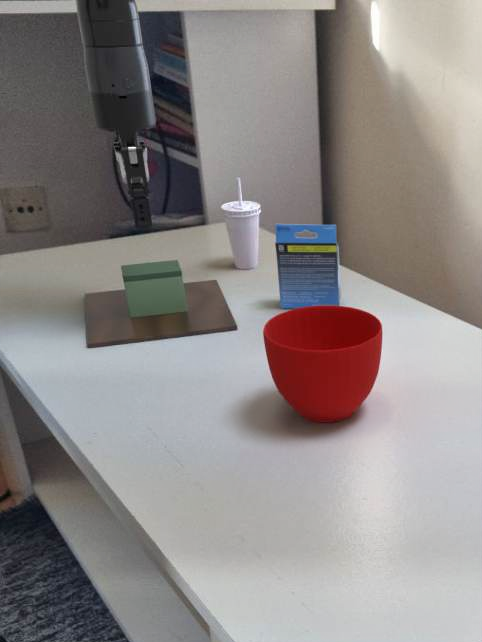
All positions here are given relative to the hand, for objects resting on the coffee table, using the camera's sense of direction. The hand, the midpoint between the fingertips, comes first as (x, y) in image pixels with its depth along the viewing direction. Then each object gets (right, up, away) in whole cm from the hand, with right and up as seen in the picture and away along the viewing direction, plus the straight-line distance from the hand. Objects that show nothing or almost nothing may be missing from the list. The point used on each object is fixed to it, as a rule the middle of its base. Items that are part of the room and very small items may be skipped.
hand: (141, 219), depth 110 cm
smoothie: (+10, +1, +25) cm, 27 cm away
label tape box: (+22, -9, +10) cm, 26 cm away
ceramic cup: (+27, -27, -15) cm, 41 cm away
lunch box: (0, -10, +7) cm, 13 cm away
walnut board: (0, -11, +8) cm, 13 cm away
